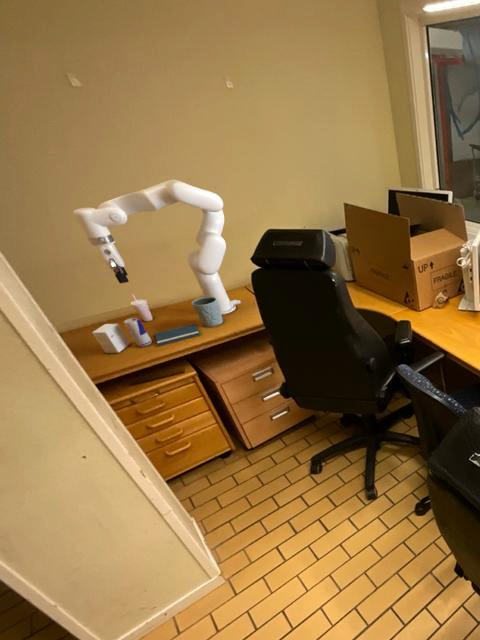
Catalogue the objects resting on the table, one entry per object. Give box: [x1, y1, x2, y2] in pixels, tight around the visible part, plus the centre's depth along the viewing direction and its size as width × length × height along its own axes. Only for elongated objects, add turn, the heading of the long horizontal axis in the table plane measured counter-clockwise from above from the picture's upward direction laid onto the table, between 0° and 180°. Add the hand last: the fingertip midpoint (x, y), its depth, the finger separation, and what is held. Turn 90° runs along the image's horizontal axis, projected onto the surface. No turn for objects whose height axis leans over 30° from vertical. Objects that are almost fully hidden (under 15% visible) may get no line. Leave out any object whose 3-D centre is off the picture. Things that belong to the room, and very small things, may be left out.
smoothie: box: [130, 293, 154, 322], centre depth 193 cm, size 6×6×14 cm
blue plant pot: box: [191, 296, 224, 328], centre depth 192 cm, size 10×10×12 cm
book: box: [154, 323, 201, 347], centre depth 185 cm, size 16×12×1 cm
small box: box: [91, 323, 131, 354], centre depth 172 cm, size 8×6×10 cm
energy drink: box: [123, 317, 153, 347], centre depth 175 cm, size 5×5×12 cm
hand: (123, 279), depth 173 cm, fingers open, 9 cm apart
